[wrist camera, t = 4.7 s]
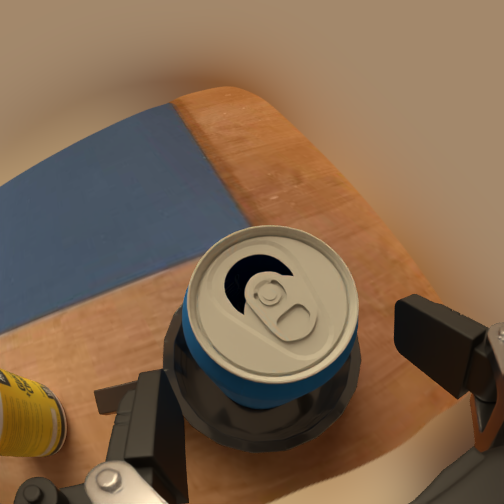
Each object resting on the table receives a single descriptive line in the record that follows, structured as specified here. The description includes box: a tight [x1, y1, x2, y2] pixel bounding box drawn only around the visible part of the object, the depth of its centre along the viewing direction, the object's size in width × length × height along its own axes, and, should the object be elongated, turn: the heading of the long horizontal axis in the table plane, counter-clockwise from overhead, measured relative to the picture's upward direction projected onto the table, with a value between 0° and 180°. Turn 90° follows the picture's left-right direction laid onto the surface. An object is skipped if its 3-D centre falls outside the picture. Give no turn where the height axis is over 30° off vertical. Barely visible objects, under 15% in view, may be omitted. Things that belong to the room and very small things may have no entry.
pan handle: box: [94, 380, 138, 415], centre depth 16 cm, size 5×2×4 cm, turn 111°
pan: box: [163, 303, 361, 453], centre depth 18 cm, size 12×12×4 cm
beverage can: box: [182, 225, 359, 410], centre depth 14 cm, size 6×6×12 cm
